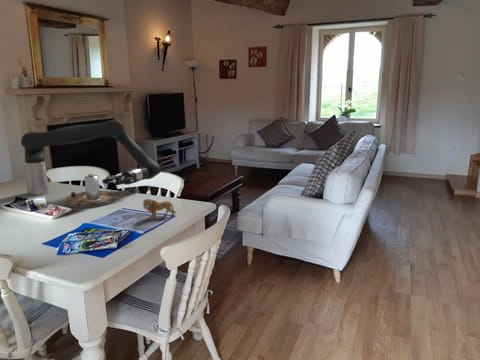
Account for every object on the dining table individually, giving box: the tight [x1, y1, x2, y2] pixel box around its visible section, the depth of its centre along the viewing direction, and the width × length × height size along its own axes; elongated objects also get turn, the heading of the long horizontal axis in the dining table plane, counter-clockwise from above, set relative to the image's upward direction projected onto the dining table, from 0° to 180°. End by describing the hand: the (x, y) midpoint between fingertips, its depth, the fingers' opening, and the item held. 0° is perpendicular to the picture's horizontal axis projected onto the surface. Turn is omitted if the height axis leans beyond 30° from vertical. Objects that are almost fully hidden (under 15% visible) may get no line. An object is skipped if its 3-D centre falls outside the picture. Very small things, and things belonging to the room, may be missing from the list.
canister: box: [84, 173, 101, 202], centre depth 178 cm, size 7×7×13 cm
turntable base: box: [64, 195, 117, 209], centre depth 186 cm, size 24×24×1 cm
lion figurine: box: [142, 198, 177, 219], centre depth 162 cm, size 15×5×9 cm, turn 119°
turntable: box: [65, 190, 116, 206], centre depth 185 cm, size 23×23×3 cm
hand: (109, 182), depth 187 cm, fingers open, 8 cm apart
